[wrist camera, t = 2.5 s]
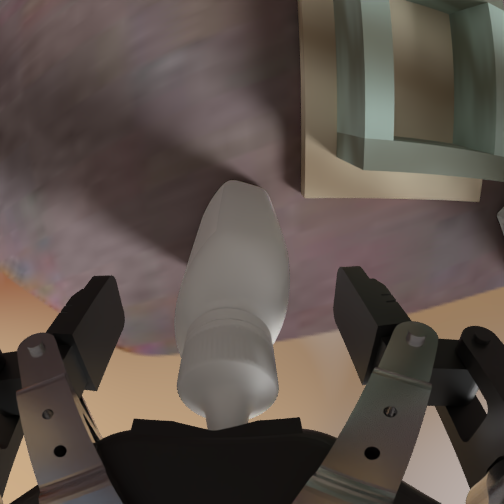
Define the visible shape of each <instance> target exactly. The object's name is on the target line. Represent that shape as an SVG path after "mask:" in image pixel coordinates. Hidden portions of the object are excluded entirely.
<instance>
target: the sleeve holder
mask: <svg viewBox="0 0 504 504" xmlns="http://www.w3.org/2000/svg"><path fill="white" fill-rule="evenodd" d="M298 18H299V41H300V73H301V194H302V195H303V197H304V198H394V199H428V200H452V201H471V202H479V201H480V194H481V187H482V180H483V179H484V180H492V181H500V182H504V7H503V1H502V0H298Z"/></svg>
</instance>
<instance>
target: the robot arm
mask: <svg viewBox="0 0 504 504" xmlns="http://www.w3.org/2000/svg"><path fill="white" fill-rule="evenodd" d="M333 310H334V318H335V322H336V324H337V326H338V329H339V331H340V333H341V336H342V338H343V340H344V342H345V345H346V347H347V350H348V352H349V354H350V356H351V359H352V361H353V364H354V366H355V369H356V371H357V373H358V376H359V378H360V381H361V383H362V385H366V387H365V388H364V390H363V392H362V394H361V396H360V398H359V400H358V402H357V404H356V406H355V408H354V410H353V411H352V413H351V415H350V417H349V419H348V421H347V422H346V425H345V426H344V428H343V429H342V431H341V433H340V435H339V436H338V438H335V437H333V436H331V435H328V434H325V433H322V432H318V431H314V430H309V429H302V426H301V421H300V418H299V417H298V418H287V419H276V420H260V421H255V422H251V423H247V424H243V425H239V426H234V427H230V428H226V429H221V430H207V429H203V428H198V427H194V426H190V425H185V424H182V423H178V422H174V421H159V420H144V419H134V420H133V424H132V428H131V430H129V431H123V432H119V433H116V434H112V435H110V436H107V437H105V438H102V436H101V434H100V433H99V431H98V428H97V426H96V424H95V422H94V420H93V418H92V416H91V414H90V411H89V409H88V407H87V405H86V403H85V400H84V398H83V397H82V393H83V391H84V390H92V391H97V390H98V387H99V385H100V382H101V380H102V377H103V375H104V372H105V370H106V367H107V365H108V363H109V360H110V358H111V355H112V353H113V351H114V348H115V346H116V344H117V342H118V339H119V337H120V335H121V332H122V330H123V328H124V322H125V317H124V311H123V307H122V303H121V299H120V295H119V291H118V287H117V282H116V279H115V278H114V276H93V277H92V279H91V280H90V281H89V282H88V284H87V285H86V287H85V288H84V289H81V290H80V291H79V292H77V293H76V294H74V295H73V296H72V297H71V298H70V300H69V301H68V302H67V304H66V306H64V308H63V309H62V310H61V313H59V315H58V316H57V317H56V319H55V320H54V322H53V323H52V324H51V326H50V327H49V329H48V330H47V332H46V333H37V334H34V335H31V336H29V337H27V338H26V339H25V340H24V341H22V342H21V344H20V345H19V347H18V349H17V351H15V352H8V353H2V352H1V350H0V504H3V501H2V497H3V493H4V490H5V487H6V483H7V480H8V477H9V474H10V471H11V468H12V465H13V462H14V459H15V457H16V454H17V451H18V449H19V446H20V443H21V440H22V438H23V435H24V437H25V441H26V445H27V448H28V453H29V456H30V460H31V463H32V467H33V469H34V473H35V476H36V479H37V482H38V485H37V486H35V487H34V488H32V489H31V490H29V491H28V492H26V493H25V494H24V495H22V496H21V497H19V498H17V499H16V500H15V501H13V502H12V503H10V504H441V503H439V502H438V501H436V500H434V499H432V498H431V497H429V496H427V495H425V494H424V493H422V492H420V491H419V490H417V489H415V488H414V487H412V486H410V485H409V484H407V483H406V482H404V481H402V479H403V476H404V474H405V471H406V468H407V466H408V463H409V460H410V458H411V455H412V452H413V449H414V446H415V443H416V440H417V437H418V434H419V431H420V428H421V425H422V421H423V418H424V415H425V411H426V408H427V406H435V407H436V410H437V412H438V414H439V416H440V418H441V420H442V422H443V424H444V427H445V429H446V431H447V434H448V436H449V438H450V440H451V443H452V445H453V447H454V450H455V452H456V454H457V457H458V459H459V461H460V464H461V467H462V469H463V472H464V474H465V477H466V479H467V482H468V485H469V487H470V491H469V493H468V495H467V498H466V504H504V345H503V343H502V342H501V341H500V340H499V338H498V337H497V336H496V335H495V334H494V333H493V332H492V331H490V330H488V329H486V328H483V327H480V326H470V327H467V328H465V329H464V330H463V332H462V334H461V337H460V339H459V340H449V339H438V335H437V333H436V332H435V331H434V330H433V329H432V328H431V327H429V326H427V325H425V324H423V323H420V322H413V321H411V320H410V318H409V317H408V316H407V314H406V313H405V312H404V310H403V309H402V308H401V306H400V305H399V303H398V302H396V300H395V298H394V297H393V296H392V295H391V293H390V292H389V290H388V289H387V288H386V286H385V285H383V284H382V283H380V282H379V281H377V280H376V279H369V277H368V276H367V275H366V273H365V272H364V271H363V269H362V268H361V267H360V266H352V267H340V268H339V269H338V272H337V280H336V289H335V298H334V307H333ZM478 389H480V391H481V393H482V394H483V396H484V398H485V399H486V401H487V405H488V413H487V414H486V412H485V410H484V409H483V407H482V405H481V403H480V402H479V400H478V398H477V397H476V393H477V391H478Z"/></svg>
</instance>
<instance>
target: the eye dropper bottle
mask: <svg viewBox="0 0 504 504" xmlns="http://www.w3.org/2000/svg"><path fill="white" fill-rule="evenodd" d="M289 289H290V269H289V259H288V253H287V248H286V244H285V241H284V237H283V234H282V231H281V228H280V225H279V223H278V220H277V217H276V214H275V211H274V208H273V206H272V203H271V200H270V197H269V195H268V193H267V191H266V190H264V189H263V188H261V187H258V186H255V185H251V184H248V183H244V182H241V181H237V180H229V181H227V182H226V183H224V184H223V185H222V186H221V187H220V188H219V190H218V191H217V192H216V193H215V195H214V196H213V198H212V199H211V201H210V203H209V204H208V206H207V208H206V210H205V212H204V215H203V217H202V220H201V223H200V226H199V229H198V232H197V235H196V238H195V241H194V244H193V248H192V251H191V254H190V257H189V260H188V264H187V267H186V270H185V274H184V277H183V280H182V284H181V287H180V291H179V295H178V299H177V304H176V309H175V338H176V343H177V347H178V350H179V353H180V356H181V358H182V359H181V364H180V370H179V375H178V380H177V390H178V394H179V397H180V398H181V400H182V401H183V403H184V404H185V405H186V406H187V407H188V408H189V409H191V410H192V411H193V412H195V413H196V414H198V415H200V416H202V417H205V418H206V422H207V427H208V430H221V429H226V428H230V427H234V426H239V425H243V424H247V423H248V420H249V419H251V418H253V417H256V416H258V415H260V414H262V413H263V412H264V411H266V410H267V409H268V408H269V407H271V405H272V404H273V403H274V401H275V400H276V397H277V396H278V395H277V394H278V390H279V387H278V378H277V371H276V364H275V358H274V350H273V344H274V342H275V340H276V338H277V336H278V335H279V332H280V330H281V327H282V325H283V322H284V318H285V315H286V310H287V306H288V299H289Z"/></svg>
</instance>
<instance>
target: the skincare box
mask: <svg viewBox="0 0 504 504" xmlns="http://www.w3.org/2000/svg"><path fill="white" fill-rule="evenodd" d="M497 218H498V220H499V223H500V226H501V228H502V231H503V234H504V207H503V208H502V209H501V210H500V211H499V212H498V214H497Z"/></svg>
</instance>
